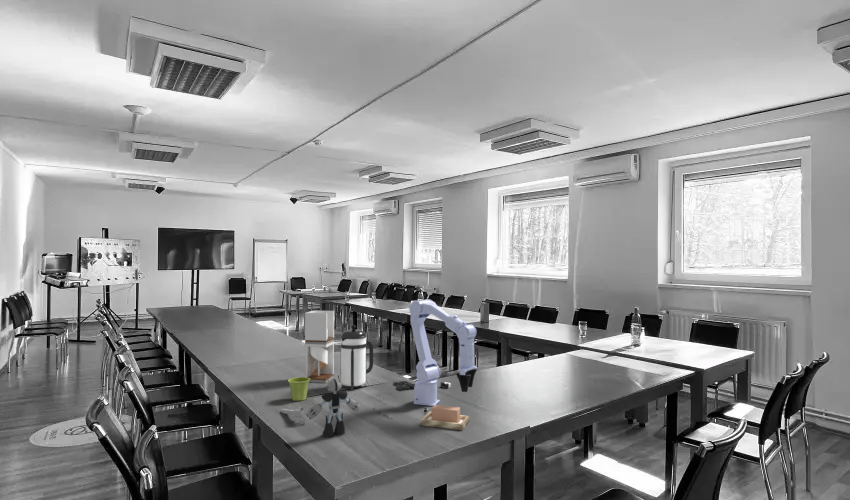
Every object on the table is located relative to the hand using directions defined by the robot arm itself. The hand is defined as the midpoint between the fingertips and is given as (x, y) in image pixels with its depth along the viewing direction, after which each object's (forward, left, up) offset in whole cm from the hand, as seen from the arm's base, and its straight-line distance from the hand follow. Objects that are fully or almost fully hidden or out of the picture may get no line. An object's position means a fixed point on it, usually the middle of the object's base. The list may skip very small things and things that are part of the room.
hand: (466, 389), depth 186 cm
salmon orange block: (-5, -15, -9) cm, 17 cm away
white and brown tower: (-85, +27, -10) cm, 90 cm away
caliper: (-63, -28, -10) cm, 70 cm away
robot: (-39, -38, -10) cm, 55 cm away
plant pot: (-75, -6, -10) cm, 76 cm away
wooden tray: (-5, -15, -9) cm, 18 cm away
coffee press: (-62, +22, -10) cm, 66 cm away
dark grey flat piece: (-31, +33, -10) cm, 46 cm away
